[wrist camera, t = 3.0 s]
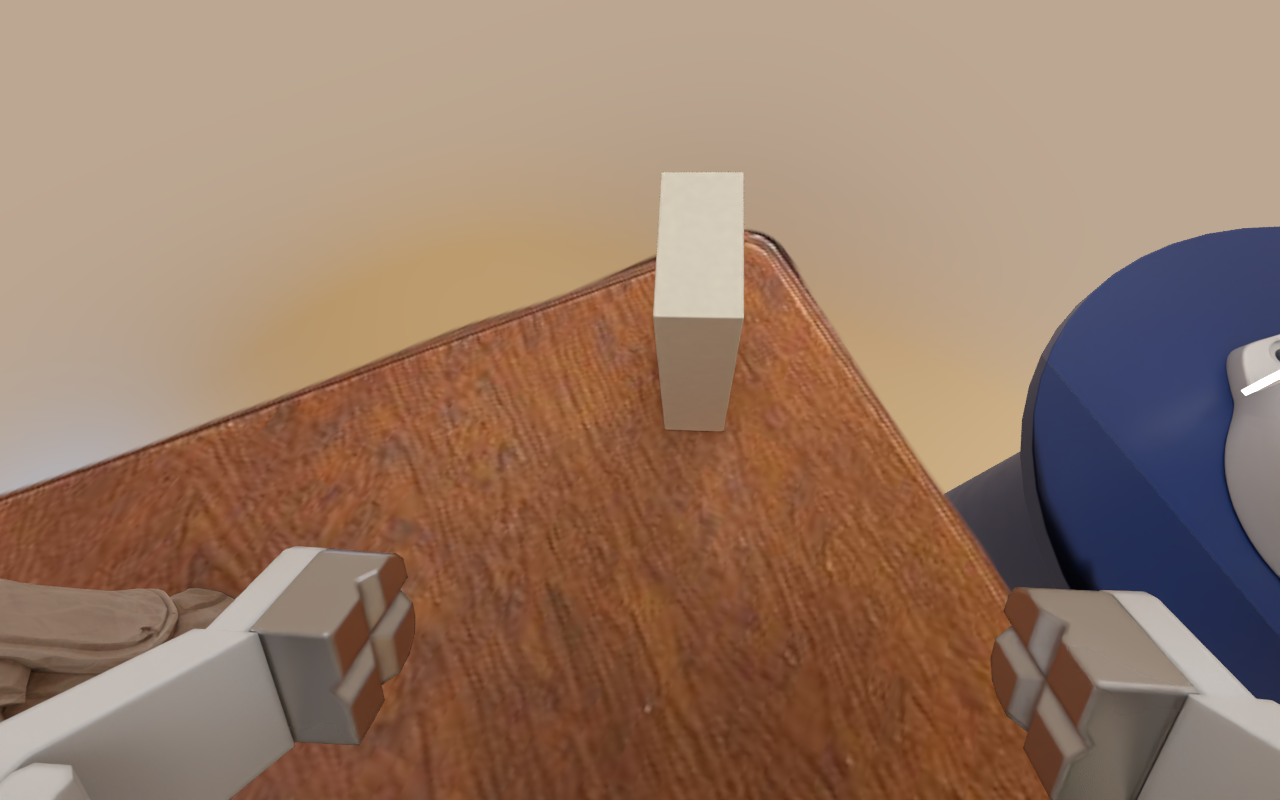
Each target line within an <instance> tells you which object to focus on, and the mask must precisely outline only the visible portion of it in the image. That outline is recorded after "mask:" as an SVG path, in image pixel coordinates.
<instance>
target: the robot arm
mask: <svg viewBox="0 0 1280 800" xmlns="http://www.w3.org/2000/svg"><path fill="white" fill-rule="evenodd" d="M1276 357H1277V358H1278V359H1279V360H1280V334H1279V335H1276V336H1272V337H1269V338H1266V339H1262V340H1259V341H1255V342H1252V343H1250V344H1247V345H1244V346H1242V347H1239V348H1237V349H1235V350H1233V351H1232V352H1231V353H1230V354H1229V355H1228V357H1227V362H1226V369H1227V376H1228V381H1229V385H1230V390H1231V393H1232V397H1233V401H1234V410H1233V416H1232V420H1231V424H1230V427H1229V431H1228V435H1227V439H1226V445H1225V475H1226V481H1227V486H1228V490H1229V494H1230V498H1231V501H1232V504H1233V506H1234V509H1235V511H1236V514H1237V516H1238V519H1239V521H1240V523H1241V525H1242V527H1243V529H1244V530H1245V532H1246V534H1247V536H1248V537H1249V539H1250V541H1251V542H1252V544H1253V545H1254V547H1255V548H1256V550H1257V551H1258V553H1259V554H1260V555H1261V557H1262V558H1263V559H1264V561H1265V562H1266V563H1267V564H1268V565H1269V567H1270V568H1271V569H1272V570H1273V571H1274V573H1275V574H1276V575H1277V576H1278V577H1279V578H1280V361H1279V360H1278V359H1277V358H1276ZM407 578H408V576H407V572H406V568H405V563H404V559H403V558H402V557H401V556H399V555H398V554H396V553H386V552H373V551H361V550H348V549H335V548H328V549H325V548H315V547H301V546H295V547H292V548H289V549H286V550H284V551H283V552H282V553H281V554H280V555H279V556H278V557H277V558H276V559H275V560H274V561H273V562H272V563H271V564H270V565H269V566H268V567H267V568H266V569H265V570H264V571H263V572H262V573H261V574H260V575H259V576H258V577H257V578H256V579H255V580H254V581H253V582H252V583H251V584H250V585H249V586H248V587H247V588H246V589H245V590H244V591H243V592H242V593H241V594H240V595H239V596H238V597H237V598H236V599H235V600H234V601H233V602H232V603H231V604H230V605H229V606H228V607H227V608H226V609H225V610H224V611H223V612H222V613H221V614H220V615H219V616H218V617H217V618H216V619H215V620H214V621H213V622H212V623H211V624H210V625H209V626H208V627H207V628H206V629H192V630H190V631H188V632H186V633H184V634H182V635H180V636H178V637H176V638H174V639H171V640H169V641H167V642H165V643H163V644H161V645H159V646H157V647H155V648H153V649H151V650H149V651H147V652H145V653H143V654H141V655H138V656H136V657H134V658H132V659H130V660H128V661H126V662H124V663H122V664H120V665H118V666H116V667H114V668H112V669H110V670H108V671H105V672H103V673H101V674H99V675H97V676H95V677H93V678H91V679H89V680H87V681H85V682H83V683H81V684H79V685H77V686H75V687H73V688H70V689H68V690H66V691H64V692H62V693H60V694H58V695H56V696H54V697H52V698H50V699H48V700H46V701H44V702H42V703H40V704H37V705H35V706H33V707H31V708H29V709H27V710H25V711H23V712H21V713H19V714H17V715H15V716H13V717H11V718H9V719H7V720H5V721H2V722H0V800H229V799H230V798H232V797H233V796H234V795H235V794H237V793H238V792H239V791H240V790H241V789H243V788H244V787H245V786H246V785H248V784H249V783H250V782H251V781H252V780H254V779H255V778H256V777H257V776H259V775H260V774H261V773H262V772H263V771H265V770H266V769H267V768H268V767H270V766H271V765H272V764H273V763H274V762H276V761H277V760H278V759H279V758H281V757H282V756H283V755H284V754H285V753H287V752H288V751H289V750H290V749H292V748H293V747H294V746H295V743H294V742H307V743H327V744H347V745H360V744H361V742H362V740H363V738H364V737H365V735H366V733H367V731H368V730H369V728H370V726H371V724H372V722H373V721H374V719H375V717H376V715H377V713H378V712H379V710H380V708H381V706H382V704H383V703H384V701H385V699H384V695H383V690H382V686H381V685H383V684H384V683H385V682H387V681H388V680H390V679H391V678H393V677H394V676H396V675H397V674H398V673H400V672H401V670H402V668H403V666H404V664H405V662H406V660H407V658H408V656H409V654H410V650H411V646H412V642H413V639H414V635H415V612H414V607H413V602H412V601H411V600H410V599H409V598H408V597H407V596H406V595H405V594H404V593H403V592H402V591H401V590H400V589H401V587H402V586H403V584H404V583H405V581H406V579H407ZM1004 613H1005V615H1006V616H1007V618H1008V620H1009V621H1010V623H1011V625H1012V626H1010V627H1009V628H1008V629H1006V630H1005V631H1004V632H1003V633H1001V634H1000V635H999V636H997V637H996V638H995V642H994V646H993V650H992V654H991V674H992V682H993V685H994V689H995V692H996V695H997V698H998V700H999V702H1000V704H1001V706H1002V708H1003V710H1004V712H1005V714H1006V715H1007V716H1008V717H1009V718H1010V719H1012V720H1013V721H1014V722H1015V723H1017V724H1018V725H1019V726H1020V727H1022V728H1023V729H1024V730H1025V731H1027V732H1028V733H1027V736H1026V740H1025V743H1024V746H1023V749H1024V751H1025V752H1026V754H1027V756H1028V758H1029V760H1030V762H1031V764H1032V766H1033V768H1034V769H1035V771H1036V773H1037V775H1038V777H1039V779H1040V781H1041V783H1042V785H1043V787H1044V788H1045V790H1046V792H1047V794H1048V796H1049V798H1050V800H1280V704H1278V703H1276V702H1274V701H1272V700H1264V699H1256V698H1255V697H1254V696H1253V695H1252V694H1251V693H1250V692H1249V691H1248V690H1247V689H1246V688H1245V687H1244V686H1243V685H1242V684H1241V683H1240V682H1239V681H1238V680H1237V679H1236V678H1235V677H1234V676H1233V675H1232V674H1231V673H1230V672H1229V671H1228V670H1227V669H1226V668H1225V667H1224V666H1223V665H1222V664H1221V663H1220V662H1219V660H1218V659H1217V658H1216V657H1215V656H1214V655H1213V654H1212V653H1211V652H1210V651H1209V650H1208V649H1207V648H1206V647H1205V646H1204V645H1203V644H1202V643H1201V642H1200V641H1199V640H1198V639H1197V638H1196V637H1195V636H1194V635H1193V634H1192V633H1191V632H1190V631H1189V630H1188V629H1187V628H1186V627H1185V626H1184V625H1183V624H1182V623H1181V622H1180V621H1179V620H1178V619H1177V618H1176V617H1175V616H1174V615H1173V613H1172V612H1171V611H1170V610H1169V609H1168V608H1167V607H1166V606H1165V605H1164V604H1163V603H1162V602H1161V601H1160V600H1159V599H1157V598H1156V597H1154V596H1152V595H1150V594H1148V593H1146V592H1142V591H1111V590H1100V591H1085V590H1064V589H1044V588H1023V587H1016V588H1015V589H1014V590H1013V591H1012V592H1011V594H1010V595H1009V596H1008V599H1007V602H1006V605H1005V608H1004Z"/></svg>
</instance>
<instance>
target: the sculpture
mask: <svg viewBox="0 0 1280 800" xmlns="http://www.w3.org/2000/svg"><path fill="white" fill-rule="evenodd" d="M234 600H235V599H233V598H231V597H229V596H227V595H225V594H223V593H221V592H218V591H213V590H208V589H203V588H190V589H187V590H186V591H184V592H181V593H178V594H175V595H172V596H170V597H169V596H168V595H167V594H166V592H165V591H163V590H161V589H149V588H148V589H141V588H139V589H131V590H123V591H102V590H90V589H77V588H65V587H54V586H43V585H35V584H28V583H20V582H15V581H10V580H5V579H0V722H2V721H5V720H7V719H9V718H11V717H13V716H15V715H17V714H19V713H21V712H23V711H25V710H27V709H29V708H31V707H33V706H35V705H37V704H40V703H42V702H44V701H46V700H48V699H50V698H52V697H54V696H56V695H58V694H60V693H62V692H64V691H66V690H68V689H70V688H73V687H75V686H77V685H79V684H81V683H83V682H85V681H87V680H89V679H91V678H93V677H95V676H97V675H99V674H101V673H103V672H105V671H108V670H110V669H112V668H114V667H116V666H118V665H120V664H122V663H124V662H126V661H128V660H130V659H132V658H134V657H136V656H138V655H141V654H143V653H145V652H147V651H149V650H151V649H153V648H155V647H157V646H159V645H161V644H163V643H165V642H167V641H169V640H171V639H174V638H176V637H178V636H180V635H182V634H184V633H186V632H188V631H190V630H192V629H206V628H207V627H208V626H209V625H210V624H211V623H212V622H213V621H214V620H215V619H216V618H217V617H218V616H219V615H220V614H221V613H222V612H223V611H224V610H225V609H226V608H227V607H228V606H229V605H230V604H231V603H232V602H233V601H234Z"/></svg>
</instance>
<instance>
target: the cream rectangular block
mask: <svg viewBox="0 0 1280 800" xmlns="http://www.w3.org/2000/svg"><path fill="white" fill-rule="evenodd" d="M658 223H659V224H658V241H657V257H656V274H655V291H654V309H653V320H654V330H655V340H656V349H657V359H658V369H659V378H660V388H661V398H662V407H663V417H664V427H665V429H666V430H693V431H724V426H725V420H726V415H727V409H728V404H729V398H730V393H731V387H732V382H733V376H734V370H735V365H736V359H737V354H738V348H739V343H740V337H741V332H742V326H743V321H744V173H743V172H704V173H703V172H677V173H676V172H668V173H667V172H665V173H664V172H663V173H662V174H661V188H660V205H659V222H658Z"/></svg>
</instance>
